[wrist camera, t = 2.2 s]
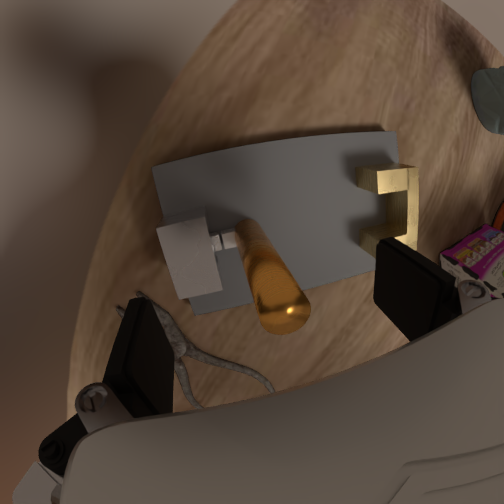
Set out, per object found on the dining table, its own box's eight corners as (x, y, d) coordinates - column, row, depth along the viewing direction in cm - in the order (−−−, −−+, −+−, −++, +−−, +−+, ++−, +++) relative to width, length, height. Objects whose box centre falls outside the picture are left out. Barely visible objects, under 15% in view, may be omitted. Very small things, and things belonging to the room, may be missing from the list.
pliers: (225, 424, 30) (85, 346, 22) (224, 419, 31) (87, 340, 23) (283, 389, 28) (134, 288, 21) (281, 384, 29) (136, 283, 22)
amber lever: (259, 216, 19) (309, 285, 10) (263, 242, 20) (312, 327, 11) (164, 237, 18) (131, 324, 9) (172, 263, 19) (150, 361, 10)
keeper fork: (394, 162, 19) (417, 167, 16) (395, 237, 22) (416, 249, 19) (355, 166, 19) (377, 171, 16) (359, 247, 21) (378, 261, 19)
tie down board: (385, 131, 19) (395, 131, 18) (389, 256, 24) (398, 262, 23) (155, 165, 18) (151, 167, 17) (194, 305, 23) (194, 315, 21)
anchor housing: (204, 205, 18) (204, 216, 15) (220, 270, 20) (223, 290, 17) (163, 215, 18) (155, 228, 15) (182, 278, 20) (179, 299, 17)
